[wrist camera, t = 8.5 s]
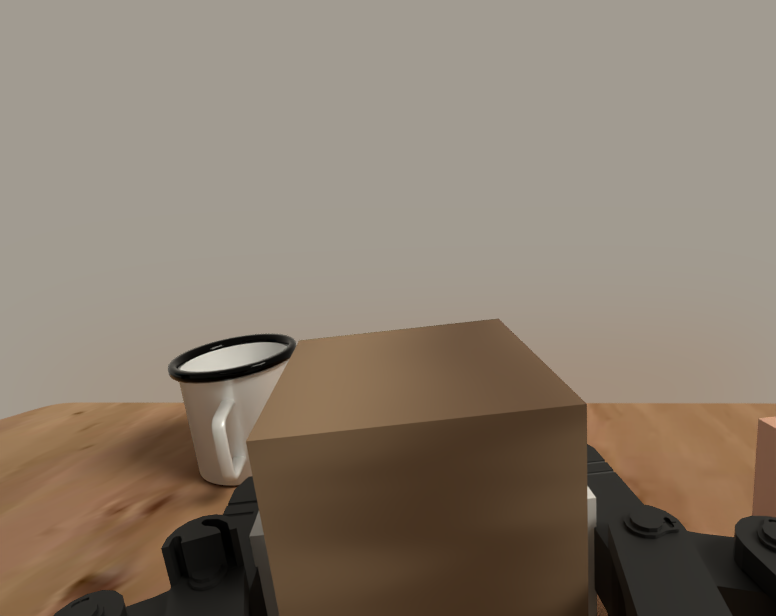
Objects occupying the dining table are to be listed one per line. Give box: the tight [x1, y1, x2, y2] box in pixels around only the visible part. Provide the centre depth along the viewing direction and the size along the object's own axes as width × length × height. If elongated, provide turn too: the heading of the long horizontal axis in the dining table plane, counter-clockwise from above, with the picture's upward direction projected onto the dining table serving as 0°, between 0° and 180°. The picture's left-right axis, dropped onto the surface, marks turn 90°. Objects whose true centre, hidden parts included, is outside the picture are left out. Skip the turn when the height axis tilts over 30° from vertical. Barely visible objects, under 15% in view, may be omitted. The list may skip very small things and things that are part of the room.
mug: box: [168, 334, 297, 486], centre depth 36 cm, size 12×10×9 cm
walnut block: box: [246, 319, 589, 616], centre depth 10 cm, size 5×5×10 cm
